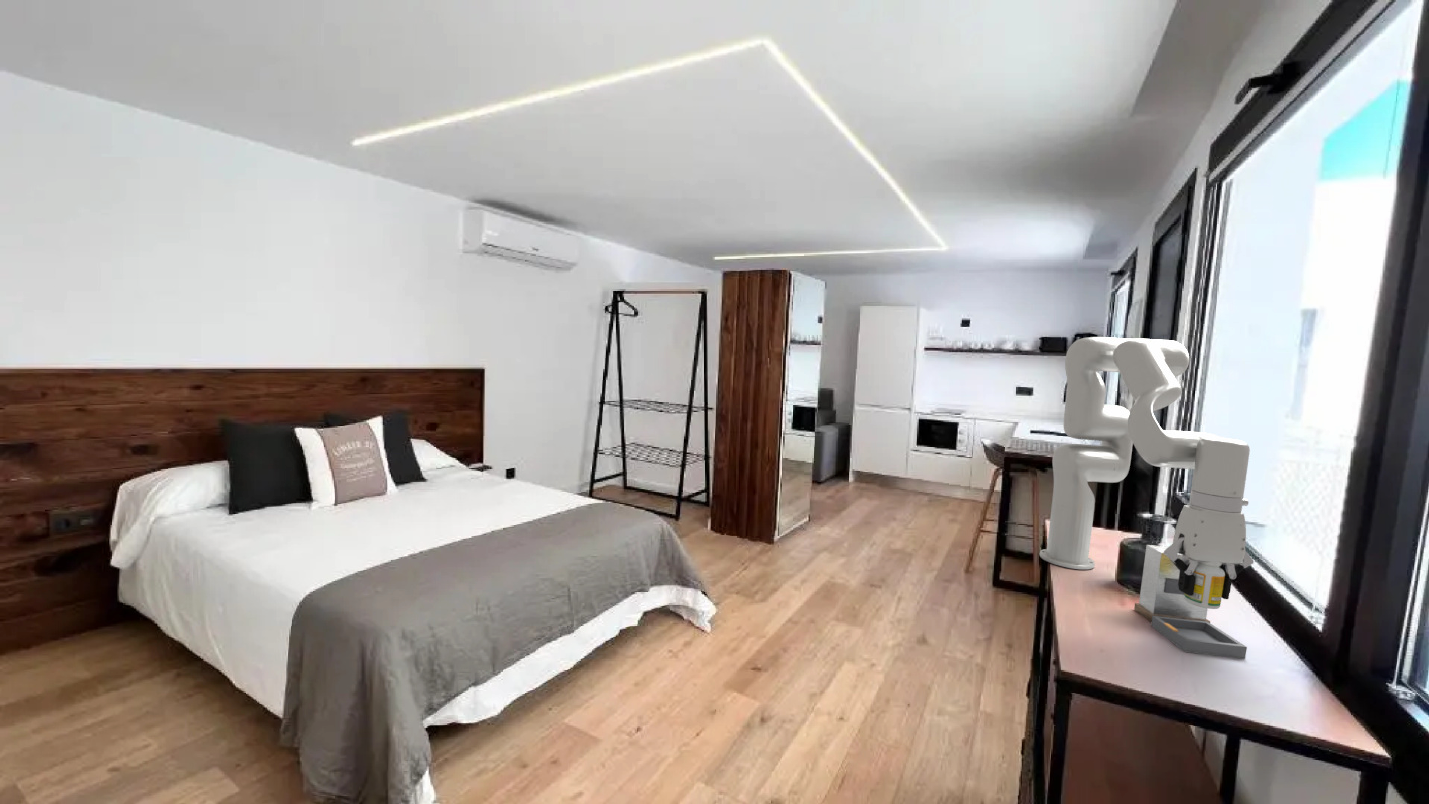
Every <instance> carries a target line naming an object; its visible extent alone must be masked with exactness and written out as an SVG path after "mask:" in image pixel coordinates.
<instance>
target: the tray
mask: <svg viewBox="0 0 1429 804" xmlns="http://www.w3.org/2000/svg"><path fill="white" fill-rule="evenodd" d="M1150 626H1151V628H1153V629H1154V630H1156V631H1157V632H1159V633H1160V634H1161V635H1162V636H1164V637H1165V638H1166V639H1168V640H1169V641H1171V643H1173V644H1174V645H1175V646H1177V647H1178V648H1179V649H1180V650H1182V651H1183V652H1185V653H1194V654H1202V655H1203V654H1204V655H1212V656H1221V657H1230V658H1237V659H1238V658H1240V659H1246V656H1247V654H1246V653H1247V651H1248V650H1247V649H1248V646H1246V645H1245V644H1243V643H1241V642H1240V641H1238V639H1235V638H1234V637H1233V636H1231V635H1229V634H1227V633H1226V632H1224V631H1223V630H1222V629H1220V628H1218V627H1217V626H1215V625H1213V624H1212V623H1211V622H1210V623H1209V622H1207V621H1198V620H1189V619H1179V618H1170V617H1160V616H1152V622H1151V625H1150Z"/></svg>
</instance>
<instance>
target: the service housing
mask: <svg viewBox="0 0 1429 804" xmlns="http://www.w3.org/2000/svg"><path fill="white" fill-rule="evenodd" d="M1168 547H1169V546H1163V545H1162V546H1161V545H1154V544H1153V545H1152V544H1151V545H1150V544H1146V547H1145V548H1146V549H1145V554H1144V555H1145V556H1144V563H1143V571H1142V579H1141V585H1140V594H1139V599H1138V600H1139V601H1138V603H1137V602H1134V608H1133V609H1134V611H1135V612H1137V613H1138V614H1140V616H1141V617H1142V616H1143V618H1145V619H1146V620H1147V621H1148V622H1151V623H1152V616H1160V617H1170V618H1179V619H1189V620H1198V621H1207V622H1209V623H1210V624H1211V620H1209V619H1207V615H1208V608H1203V607H1199V606H1196V605H1193V604H1191V603H1189V602H1187V601H1186V600H1185V598H1184V595H1185V593H1184V592H1182V591H1180V590H1179V586H1178V581H1179V573H1180V570H1178V569H1177V567H1176V566H1175V565H1174V563H1173V562H1172V561H1171V560H1170V559H1169V558H1168V557H1167V556H1166V555H1165V554H1164V551H1165V550H1166V549H1167V548H1168ZM1182 555H1183V554H1177V556H1178V557H1179V558H1180V559H1181V557H1182Z"/></svg>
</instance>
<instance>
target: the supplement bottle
mask: <svg viewBox="0 0 1429 804" xmlns="http://www.w3.org/2000/svg"><path fill="white" fill-rule="evenodd" d="M1221 565H1222V563H1220V562H1217V561H1214V562H1201V561H1199V562H1198V564H1197V566H1196V568H1195V570H1194V572H1193V574H1192V575H1194V576H1195V577H1196V579H1195V586H1194V593H1193V595H1192V596H1189V595H1187V594H1185V595H1184V598H1185V600H1186V601H1187V602H1189V603H1191V604H1193V605H1196V606H1199V607H1203V608H1208V609H1210V610H1219V609H1220V607H1221V605H1222V604H1221V603H1222V598H1221V597H1222V590H1223V584H1224V578H1225V572H1224V571H1223V569H1221V568H1220V567H1219V566H1221ZM1208 609H1207V610H1208Z"/></svg>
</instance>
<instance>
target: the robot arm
mask: <svg viewBox="0 0 1429 804" xmlns="http://www.w3.org/2000/svg"><path fill="white" fill-rule="evenodd" d="M1189 355H1190V354H1189V352H1188V350H1187V349H1186V347H1185V346H1184V345H1183V344H1181V343H1179V342H1178V341H1176V340H1169V339H1152V338H1151V339H1150V338H1124V337H1123V338H1120V337H1118V338H1117V337H1107V336H1090V337H1083V338H1079V339H1077V340H1075V341H1074V342H1073V343H1072V344H1071V345H1070V346H1069V348H1068V349H1067V352H1066V355H1065V361H1064V369H1065V375H1066V376H1065V377H1066V387H1067V388H1066V397H1065V404H1064V414H1063V432H1064V433H1065V434H1066V435H1067V436H1068V437H1069V438H1072V439H1076V440H1083V441H1086V440H1087V441H1101V445H1095V444H1078V443H1073V444H1072V443H1070V444H1069V443H1068V444H1064V445H1061V446H1059V447H1058V448H1057V449H1056V450H1055V451H1054V452H1053V453H1052V455H1053V456H1052V472H1053V489H1052V490H1053V491H1052V498H1051V499H1052V501H1051V509H1050V518H1049V527H1048V534H1047V535H1048V536H1047V539H1046V542H1047V544H1046V548H1045V549H1041V550H1040V551H1039V557H1040V558H1041V559H1042V560H1043V561H1045V562H1048V563H1051V564H1052V565H1056V566H1060V567H1062V568H1067V569H1074V570H1091V569H1094V568H1095V564H1096V563H1095V561H1094V560H1093V559H1092V558H1090V557H1089V554H1090V547H1091V546H1090V545H1091V539H1092V538H1091V537H1092V530H1093V521H1094V514H1095V513H1094V512H1095V506H1096V505H1095V503H1096V499H1095V495H1094V493H1093V491H1092V489H1091V487H1090V486H1089V483H1088V482H1090V483H1091V482H1096V483H1120V482H1122V481H1123V480H1124V479H1125V478H1126V477H1127V476H1128V474H1129V471H1130V468H1131V467H1130V466H1131V462H1132V461H1131V460H1132V452H1133V446H1134V448H1135V449H1136V451H1137V453H1138V454H1139V456H1140V458H1142V459H1143V460H1144V462H1146V463H1147V464H1149V465H1151V466H1154V467H1159V468H1171V469H1172V468H1173V469H1185V470H1186V469H1187V470H1193V473H1192V474H1193V475H1192V480H1191V481H1192V482H1191V487H1190V488H1191V489H1190V496H1189V502H1188V503H1189V504H1188V505H1187V504H1184V505H1183V508H1182V509H1181V512H1180V514H1179V516H1178V519H1177V522H1176V526H1175V530H1174V534H1173V539H1172V540H1173V541H1172V544H1170V545H1169V546H1167V547H1168V548H1167V549H1166V550H1165V551H1164V554H1165V555H1166V556H1167V557H1168V558H1169V559H1170V560H1171V561H1172V562H1173V563H1174V565H1175V566H1176V567H1177V569H1178V570H1180V573H1179V581H1178V586H1179V590H1180V591H1182V592H1184V593H1185V594H1187V595H1189V596H1192V595H1193V593H1194V586H1195V579H1196V577H1195V576H1194V575H1192V574H1193V572H1194V570H1195V568H1196V566H1197V564H1198V562H1199V561H1201V562H1214V561H1217V562H1220V563H1222V565H1221V566H1219V567H1220V568H1221V569H1223V571H1224V572H1225V578H1224V584H1223V590H1222V597H1221V599H1223V600H1229V598H1230V593H1231V589H1232V583H1233V580H1235V579H1236V578H1237V575H1238V574H1240V573H1242V572H1243V571H1244V569H1247V568H1249V566H1251V565H1253V564H1254V560H1253V558H1252V557H1251V555H1250V554H1249V553H1248V552H1247V551H1246V544H1247V528H1246V527H1247V524H1246V517H1245V513H1243V512H1242V509H1243V507H1247V506H1248V505H1249V500H1248V499H1247V498H1244V495H1245V489H1246V488H1245V487H1246V480H1247V473H1248V466H1249V457H1250V452H1251V451H1250V446H1249V444H1248V443H1247V442H1245V441H1243V440H1239V439H1235V438H1234V439H1233V438H1226V437H1221V436H1218V435H1215V434H1212V433H1207V432H1200V431H1189V430H1188V431H1187V430H1186V431H1185V430H1184V431H1183V430H1171V429H1170V430H1168V429H1166V430H1165V429H1162V427H1161V426H1160V424H1159V422H1158V421H1157V419H1156V416H1155V415H1154V412H1155V411H1158V410H1160V409H1164V408H1165V407H1168V406H1169V405H1171V404H1172V403H1175V402H1176V401H1177V400H1178V398H1179V397H1180V396H1181V394H1182V388H1181V387H1182V386H1181V385H1180V383H1179V382H1178V380H1177V378H1175V377H1178V376H1181V375H1182V374H1184V373H1185V372H1186V371H1187V368H1188V366H1189V364H1190V356H1189ZM1098 372H1107V373H1108V372H1110V373H1119V374H1120V377H1121V378H1122V380H1123V381H1124V383H1125V385H1126V387H1127V389H1128V391H1129V393H1130V395H1131V397H1132V398H1133V401H1134V403H1133V405H1132V406H1131V408H1130V410H1129V409H1127V408H1126V407H1124V406H1121V405H1115V404H1105V401H1106V400H1105V399H1106V391H1107V388H1106V384H1105V382H1104V380H1103V378H1102V376H1101V375H1100V373H1098ZM1177 554H1183V555H1182V557H1181V559H1180V558H1179V557H1178V556H1177Z"/></svg>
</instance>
